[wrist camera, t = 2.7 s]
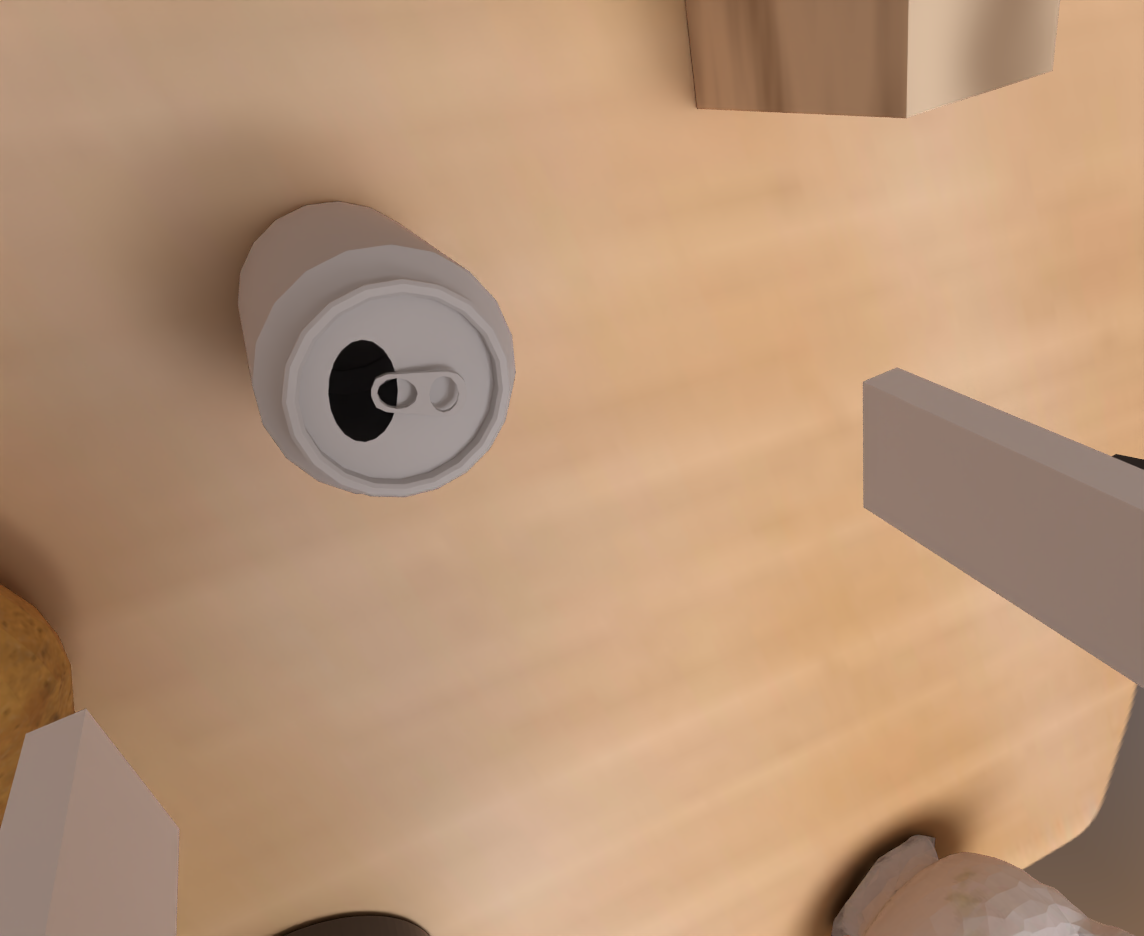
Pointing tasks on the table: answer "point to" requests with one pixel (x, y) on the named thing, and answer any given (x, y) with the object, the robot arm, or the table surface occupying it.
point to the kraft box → (864, 53)
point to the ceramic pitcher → (957, 899)
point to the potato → (27, 681)
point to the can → (372, 352)
